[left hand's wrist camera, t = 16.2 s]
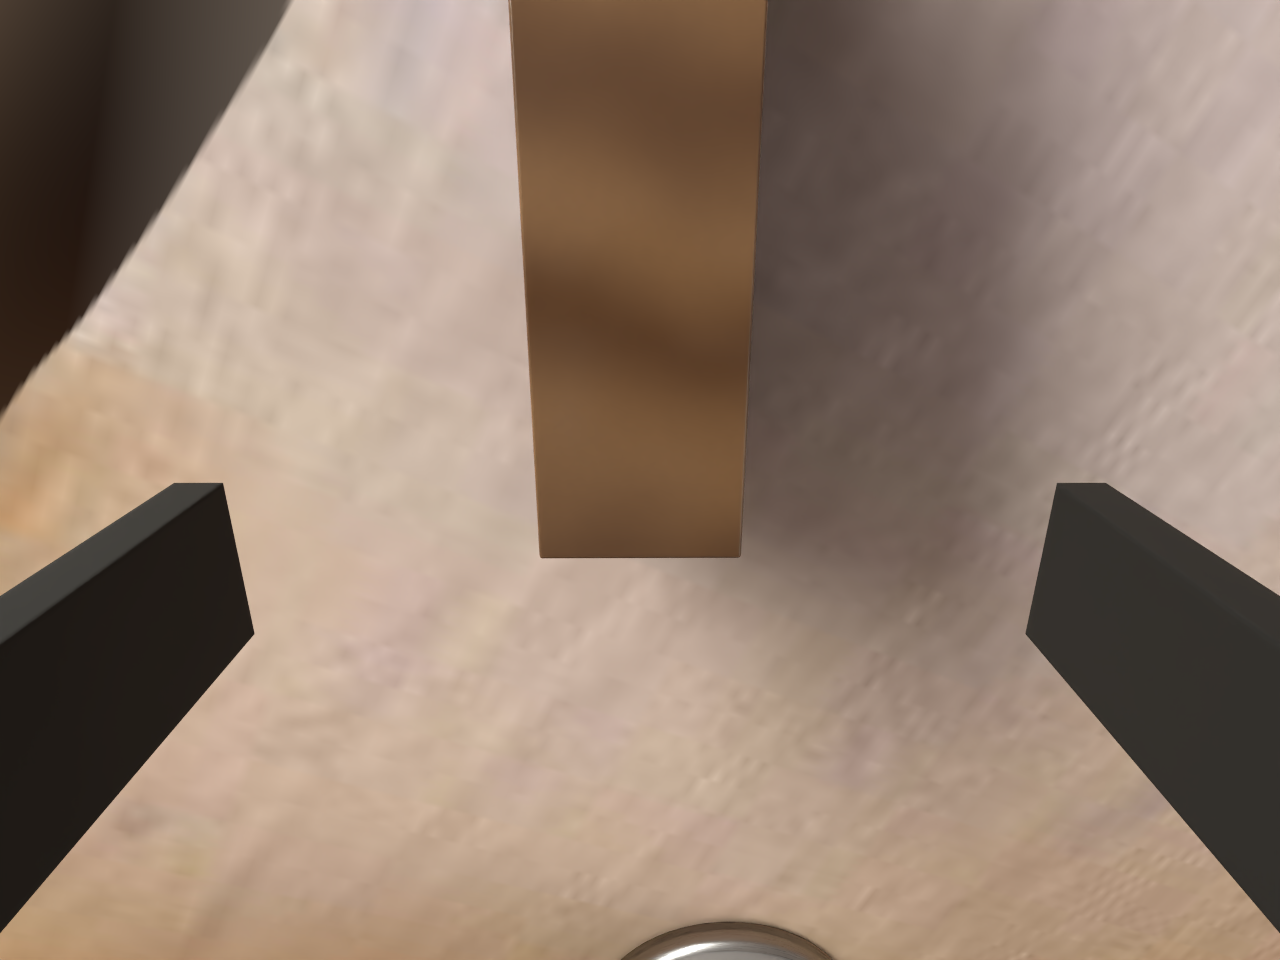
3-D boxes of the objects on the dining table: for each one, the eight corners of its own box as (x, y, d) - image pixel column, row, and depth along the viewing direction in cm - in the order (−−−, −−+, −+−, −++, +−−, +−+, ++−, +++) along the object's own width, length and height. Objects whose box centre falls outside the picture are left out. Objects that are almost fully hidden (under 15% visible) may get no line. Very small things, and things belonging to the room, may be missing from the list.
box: (708, 435, 33) (741, 558, 22) (572, 435, 33) (539, 559, 22) (729, -284, 24) (800, -649, 14) (545, -284, 24) (470, -647, 14)
